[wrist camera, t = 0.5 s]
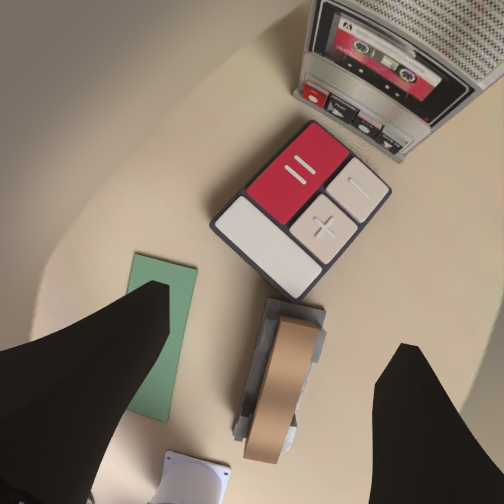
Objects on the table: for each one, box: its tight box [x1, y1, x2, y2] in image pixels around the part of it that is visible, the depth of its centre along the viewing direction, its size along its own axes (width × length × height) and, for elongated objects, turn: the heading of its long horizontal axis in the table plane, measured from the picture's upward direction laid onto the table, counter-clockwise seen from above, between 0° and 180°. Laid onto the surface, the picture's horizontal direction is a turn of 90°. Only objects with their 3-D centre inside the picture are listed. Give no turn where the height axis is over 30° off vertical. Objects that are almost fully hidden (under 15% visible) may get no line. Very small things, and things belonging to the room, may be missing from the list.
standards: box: [233, 298, 327, 451], centre depth 30 cm, size 16×6×4 cm, turn 167°
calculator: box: [209, 120, 392, 304], centre depth 31 cm, size 11×4×15 cm
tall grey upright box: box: [293, 0, 504, 164], centre depth 20 cm, size 14×6×25 cm, turn 57°
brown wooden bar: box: [243, 315, 319, 464], centre depth 28 cm, size 14×3×3 cm, turn 167°
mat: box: [126, 254, 198, 423], centre depth 33 cm, size 18×7×1 cm, turn 167°
